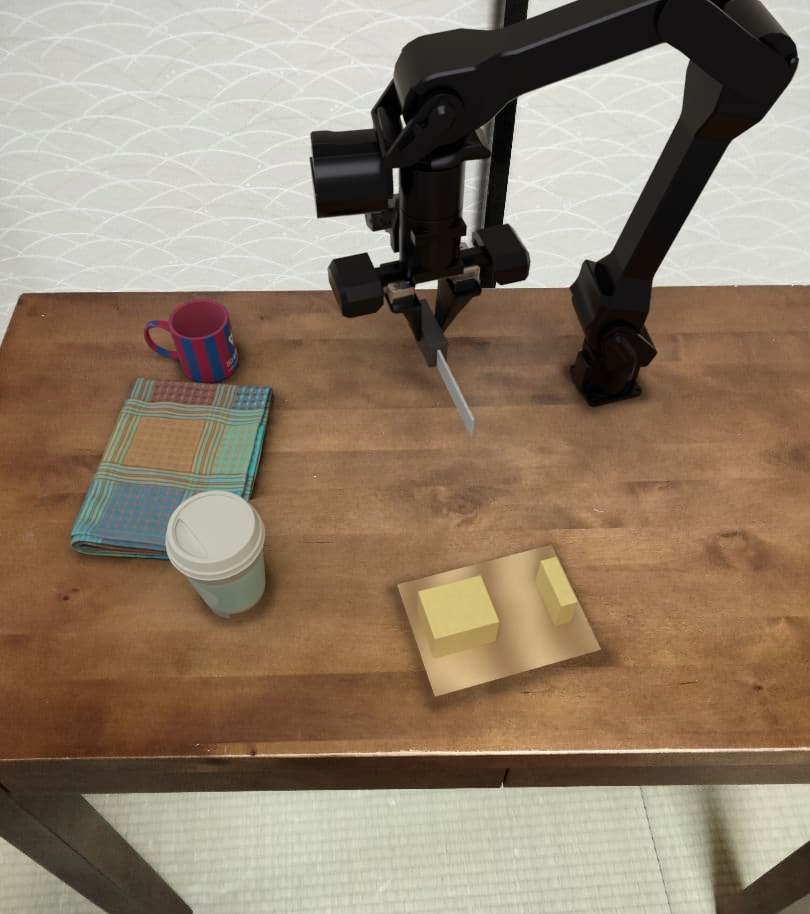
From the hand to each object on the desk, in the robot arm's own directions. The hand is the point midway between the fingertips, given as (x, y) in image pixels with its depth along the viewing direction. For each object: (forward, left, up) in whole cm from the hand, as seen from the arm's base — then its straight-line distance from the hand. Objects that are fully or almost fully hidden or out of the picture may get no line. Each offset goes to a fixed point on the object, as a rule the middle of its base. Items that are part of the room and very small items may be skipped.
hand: (427, 336), depth 85 cm
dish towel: (+28, +2, -10) cm, 30 cm away
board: (+2, +29, -10) cm, 31 cm away
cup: (+24, -14, -10) cm, 30 cm away
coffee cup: (+25, +18, -10) cm, 33 cm away
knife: (0, +5, -1) cm, 5 cm away
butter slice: (-4, +29, -8) cm, 30 cm away
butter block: (+6, +29, -9) cm, 31 cm away
